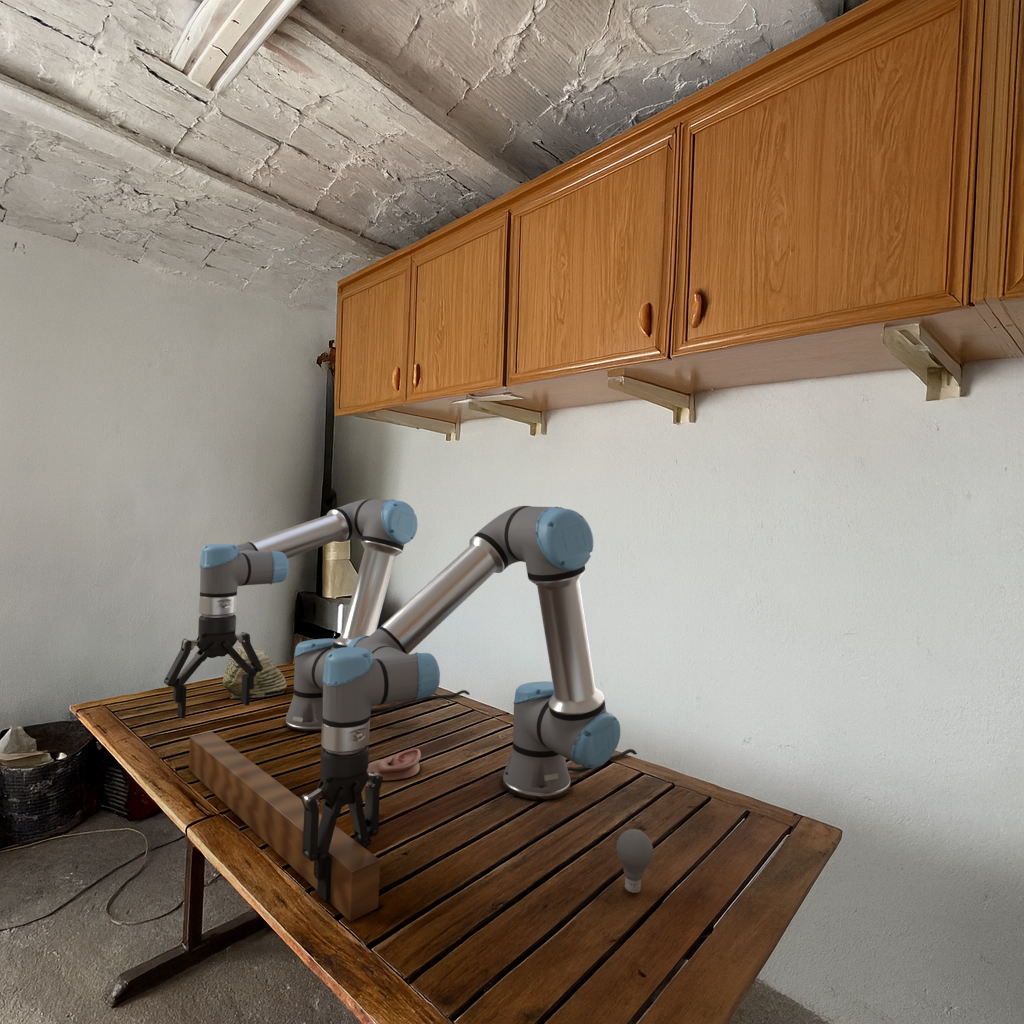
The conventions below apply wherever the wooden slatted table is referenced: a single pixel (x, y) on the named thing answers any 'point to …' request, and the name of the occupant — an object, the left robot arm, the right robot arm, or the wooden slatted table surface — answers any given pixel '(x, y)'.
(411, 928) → the wooden slatted table surface
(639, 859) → the light bulb
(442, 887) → the wooden slatted table surface
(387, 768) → the anatomical model
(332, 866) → the bar
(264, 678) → the fossil
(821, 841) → the wooden slatted table surface
